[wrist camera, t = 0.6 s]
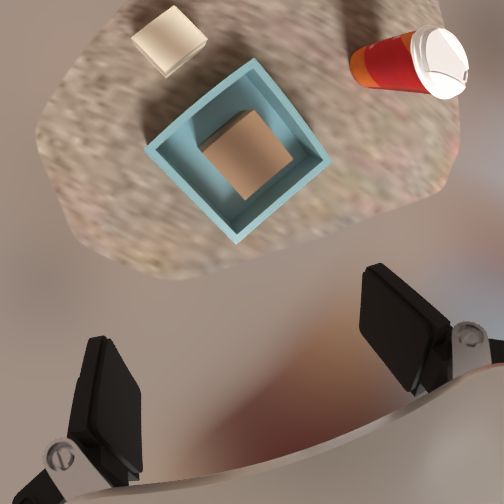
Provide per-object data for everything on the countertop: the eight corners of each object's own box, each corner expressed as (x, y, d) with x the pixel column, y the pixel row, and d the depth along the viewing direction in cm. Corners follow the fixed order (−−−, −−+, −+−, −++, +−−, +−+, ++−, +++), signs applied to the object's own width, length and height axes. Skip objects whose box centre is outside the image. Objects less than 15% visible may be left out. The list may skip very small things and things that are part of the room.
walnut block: (240, 110, 30) (254, 109, 25) (273, 151, 33) (293, 159, 28) (197, 146, 31) (202, 152, 26) (233, 186, 34) (244, 200, 29)
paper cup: (395, 56, 31) (475, 51, 19) (383, 105, 34) (465, 113, 22) (348, 30, 29) (426, 7, 17) (334, 81, 32) (413, 74, 19)
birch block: (173, 20, 25) (174, 5, 20) (202, 49, 27) (207, 39, 23) (137, 48, 25) (131, 37, 21) (166, 78, 28) (164, 72, 23)
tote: (243, 64, 29) (254, 57, 25) (314, 155, 35) (332, 161, 31) (147, 145, 30) (143, 149, 26) (228, 229, 36) (235, 244, 33)
